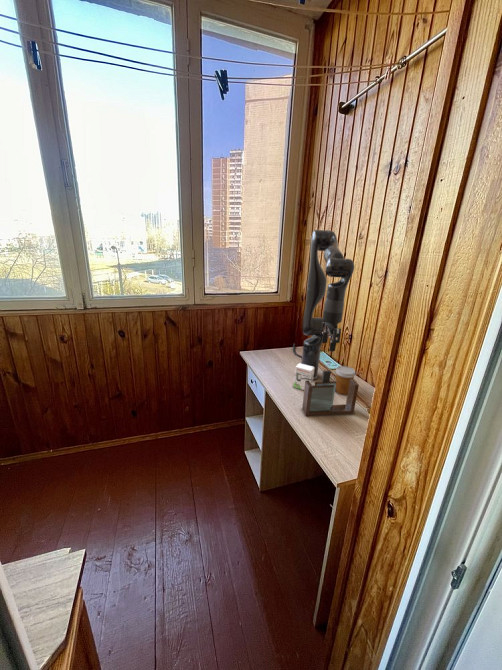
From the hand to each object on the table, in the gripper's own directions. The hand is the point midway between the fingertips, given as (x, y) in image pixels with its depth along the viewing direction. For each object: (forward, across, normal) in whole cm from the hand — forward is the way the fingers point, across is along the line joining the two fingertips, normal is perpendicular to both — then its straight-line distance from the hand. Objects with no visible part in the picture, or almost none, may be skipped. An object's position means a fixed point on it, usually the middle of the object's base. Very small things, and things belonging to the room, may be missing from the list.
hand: (328, 346), depth 123 cm
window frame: (+29, -4, -2) cm, 30 cm away
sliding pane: (+28, -3, 0) cm, 28 cm away
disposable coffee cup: (+30, +12, -16) cm, 36 cm away
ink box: (+30, +17, +3) cm, 34 cm away
